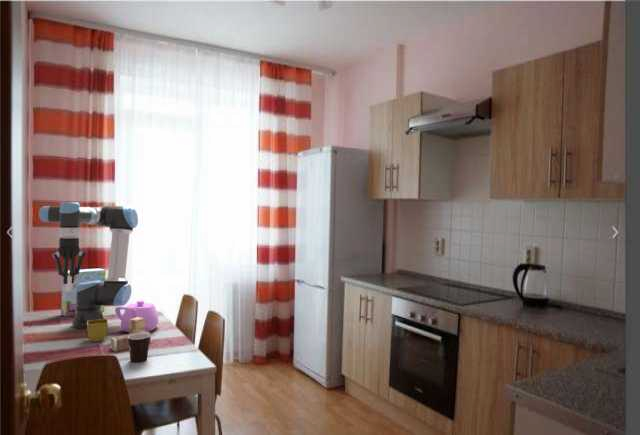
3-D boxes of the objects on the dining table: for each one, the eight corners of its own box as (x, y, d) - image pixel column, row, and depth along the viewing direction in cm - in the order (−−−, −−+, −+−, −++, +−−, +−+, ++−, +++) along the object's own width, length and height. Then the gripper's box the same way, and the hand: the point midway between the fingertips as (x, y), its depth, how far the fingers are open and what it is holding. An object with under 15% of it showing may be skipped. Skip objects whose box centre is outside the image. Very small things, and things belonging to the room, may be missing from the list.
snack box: (66, 317, 240) (67, 272, 240) (60, 315, 246) (61, 270, 246) (105, 311, 257) (106, 269, 257) (98, 309, 263) (99, 267, 262)
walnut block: (111, 337, 191) (145, 330, 202) (110, 348, 191) (145, 341, 202) (115, 340, 187) (150, 333, 199) (115, 351, 187) (150, 343, 199)
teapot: (119, 326, 227) (120, 298, 227) (160, 325, 230) (161, 297, 230) (105, 338, 205) (105, 307, 204) (150, 337, 208) (151, 307, 208)
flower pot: (86, 344, 196) (86, 324, 196) (87, 338, 204) (87, 320, 204) (107, 341, 200) (108, 322, 200) (107, 336, 208) (107, 318, 208)
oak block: (128, 339, 204) (129, 319, 204) (137, 337, 208) (137, 317, 208) (136, 341, 202) (136, 320, 201) (144, 338, 206) (145, 318, 206)
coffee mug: (131, 356, 181) (132, 333, 181) (152, 356, 182) (153, 333, 182) (121, 366, 170) (121, 341, 170) (143, 366, 170) (144, 341, 170)
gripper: (55, 238, 178) (54, 294, 178) (88, 237, 188) (87, 290, 188) (49, 237, 183) (48, 291, 183) (82, 236, 193) (81, 288, 193)
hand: (68, 291), depth 186 cm, fingers closed
